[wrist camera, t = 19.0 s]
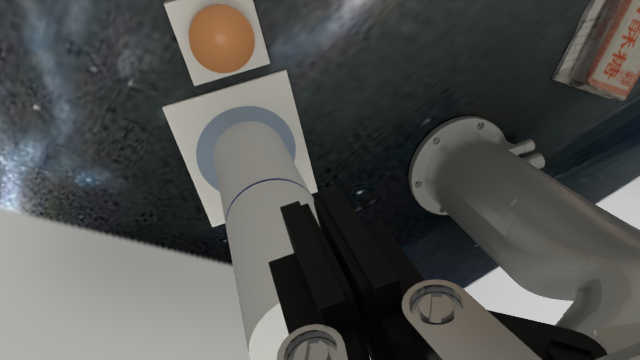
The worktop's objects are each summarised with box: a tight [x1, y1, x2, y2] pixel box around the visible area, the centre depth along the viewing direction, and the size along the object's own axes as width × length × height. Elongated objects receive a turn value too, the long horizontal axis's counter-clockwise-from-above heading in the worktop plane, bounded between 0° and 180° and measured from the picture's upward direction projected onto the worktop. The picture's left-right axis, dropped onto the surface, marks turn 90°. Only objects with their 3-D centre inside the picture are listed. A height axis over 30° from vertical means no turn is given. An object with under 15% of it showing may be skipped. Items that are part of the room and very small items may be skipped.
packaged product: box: [552, 0, 640, 101], centre depth 50 cm, size 18×5×10 cm
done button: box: [188, 4, 255, 73], centre depth 37 cm, size 5×5×2 cm
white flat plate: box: [162, 69, 318, 227], centre depth 46 cm, size 12×14×1 cm
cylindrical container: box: [214, 121, 320, 360], centre depth 35 cm, size 7×7×25 cm
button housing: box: [164, 0, 270, 86], centre depth 40 cm, size 7×7×2 cm
